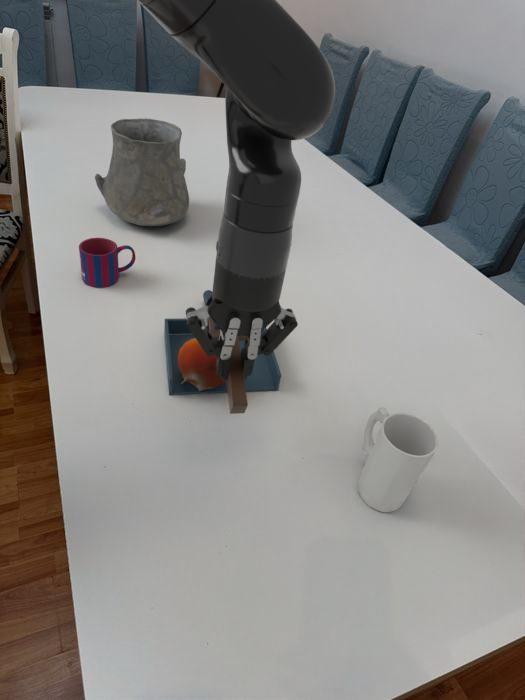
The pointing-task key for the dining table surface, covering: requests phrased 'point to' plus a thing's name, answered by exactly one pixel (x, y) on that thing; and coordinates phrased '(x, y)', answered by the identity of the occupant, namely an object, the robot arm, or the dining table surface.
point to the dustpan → (260, 380)
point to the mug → (394, 458)
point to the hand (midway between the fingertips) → (233, 375)
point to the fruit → (198, 366)
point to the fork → (233, 374)
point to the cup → (101, 261)
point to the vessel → (146, 173)
